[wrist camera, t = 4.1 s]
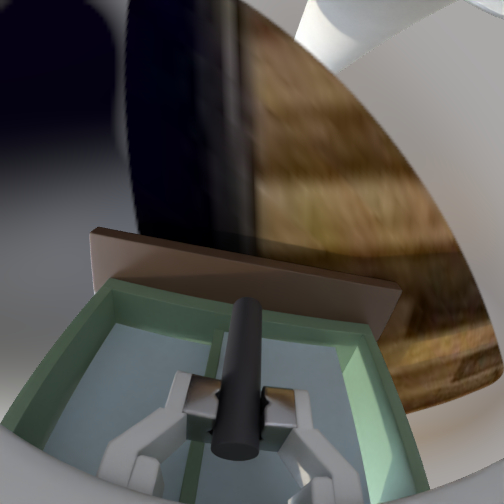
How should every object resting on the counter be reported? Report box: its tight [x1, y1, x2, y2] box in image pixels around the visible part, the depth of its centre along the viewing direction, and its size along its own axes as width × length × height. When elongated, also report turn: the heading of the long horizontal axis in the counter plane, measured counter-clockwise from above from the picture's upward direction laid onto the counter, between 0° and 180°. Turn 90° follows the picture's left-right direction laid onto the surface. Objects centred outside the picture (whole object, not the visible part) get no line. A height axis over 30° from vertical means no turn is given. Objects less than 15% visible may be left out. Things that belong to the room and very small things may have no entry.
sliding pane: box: [179, 297, 371, 504], centre depth 11 cm, size 5×8×11 cm, turn 79°
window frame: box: [0, 227, 430, 504], centre depth 13 cm, size 10×21×15 cm, turn 79°
